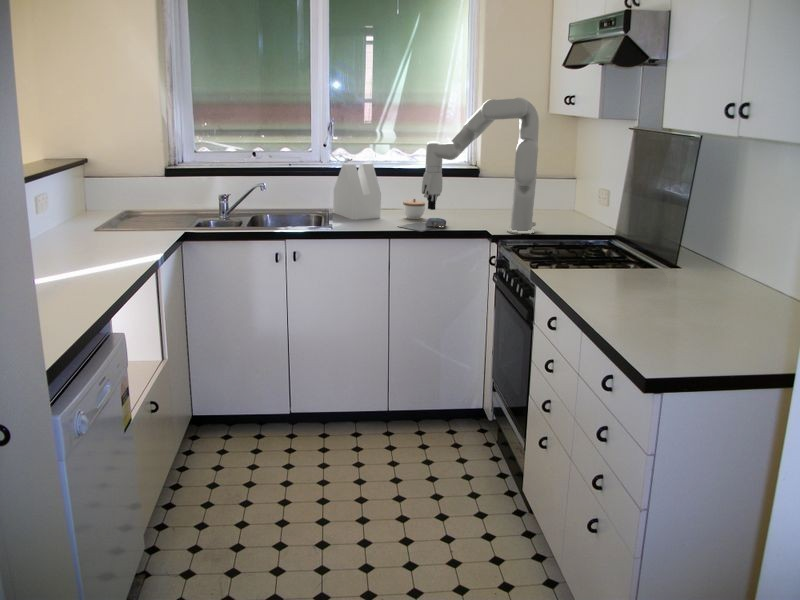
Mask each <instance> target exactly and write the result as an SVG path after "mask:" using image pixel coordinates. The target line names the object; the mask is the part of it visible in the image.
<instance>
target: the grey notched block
mask: <svg viewBox="0 0 800 600" xmlns="http://www.w3.org/2000/svg"><path fill="white" fill-rule="evenodd" d="M332 203H333V207H332V209H333V211H332V212H333V214H335V215H338V216H341V217H344V218H346V219H350V220H352V221H353V220H366V219H368V220H369V219H380V218H381V208H382V206H381V205H382V192H381V189H380V185H379V181H378V177H377V174H376V170H375V166H374V163H372V162H365V163H364V162H363V163H359V166H358V168H357V165H356V163H342V165H341V169H340V170H339V173H338V176H337V179H336V183H335V185H334V188H333V202H332Z"/></svg>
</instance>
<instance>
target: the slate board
mask: <svg viewBox="0 0 800 600" xmlns="http://www.w3.org/2000/svg"><path fill="white" fill-rule="evenodd" d="M425 224H426V222H422V221H418V222H414V223H407V224H402V225H397V228H400V229H401V228H402V229H405V230H411V231H415V232H420V233H423V232H426V231H427V232H428V231H433V230H438V229H441V228H440V227H434V226H430V227H427V226H426V225H425Z"/></svg>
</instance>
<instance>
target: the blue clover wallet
mask: <svg viewBox="0 0 800 600" xmlns="http://www.w3.org/2000/svg"><path fill="white" fill-rule="evenodd" d="M425 223H426V224H425V225H426V226H427V227H430V226H434V227H439V226H441V227H440V228H439V229H444V228H445V227H446V224H447V220H446V219H443V218H440V217H432V218H431V217H430V218H427V220H426V221H425ZM442 226H444V227H442Z"/></svg>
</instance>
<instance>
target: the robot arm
mask: <svg viewBox="0 0 800 600" xmlns="http://www.w3.org/2000/svg"><path fill="white" fill-rule="evenodd" d="M513 119H515V120H516V119H518V122H519V128H518V140H517V141H518V143H517V145H516V148H515V157H514V173H513V176H514V177H513V178H514V181H513V182H514V184H513V192H512V193H513V195H512V203H511V204H512V205H511V220H510V227H511V229H512V230H517V231H528V230H531V229H533V227H536V226H537V223H536V222H535V221H533V216H534V205H535V204H534V203H535V195H536V194H535V193H536V183H537V175H538V173H537V167H538V157H539V128H540V127H539V126H540V121H539V114H538V110H536V107H535V106H534V105H533V103H531V102H530V101H528V99H525V98H524V97H514V98H504V99H495V98H490V99H488V100H486V101H485V102H483V104H482V105H481V106H480V108H478V109H477V110H476V111H475V113H473V115H472V116H470V117H469V118H468V119H467V120H466V122H465V124H463V126H462V127H461V129H460V130H459V131H458V133H456V134H455V136H453V138H452V139H451V140H450V141H448V142H447V143H442V142H439V141H428V142H427V144H426V149H425V152H426V154H425V171H424V173H423V175H422V176H423V177H422V181H421V182H422V185H421V193H422V194H423V197H424V198H426V200H427V210H431V211H435V210H436V201H437V200H438V197H440V196H441V193H442V191H443V173H442V172H443V160H446V161H453V160H456V159H457V158H459V156H460V155H461V154H462V153H463V152H464V151H466V149H467V148H468V146H470V145H471V144H472V143H473V141H475V140H477V138H479V137H480V136H481V135H482V134H483V133H484V132H485V131H486V130H487V129H488V127H490V126H491V124H492V123H494V122H495V121H496V120H497V121H498V120H513ZM506 232H508V233H510V234H513V235H521V234H529V235H531V234H530V233H518V232H512V231H509V230H507V229H506ZM532 233H533V232H532Z"/></svg>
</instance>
